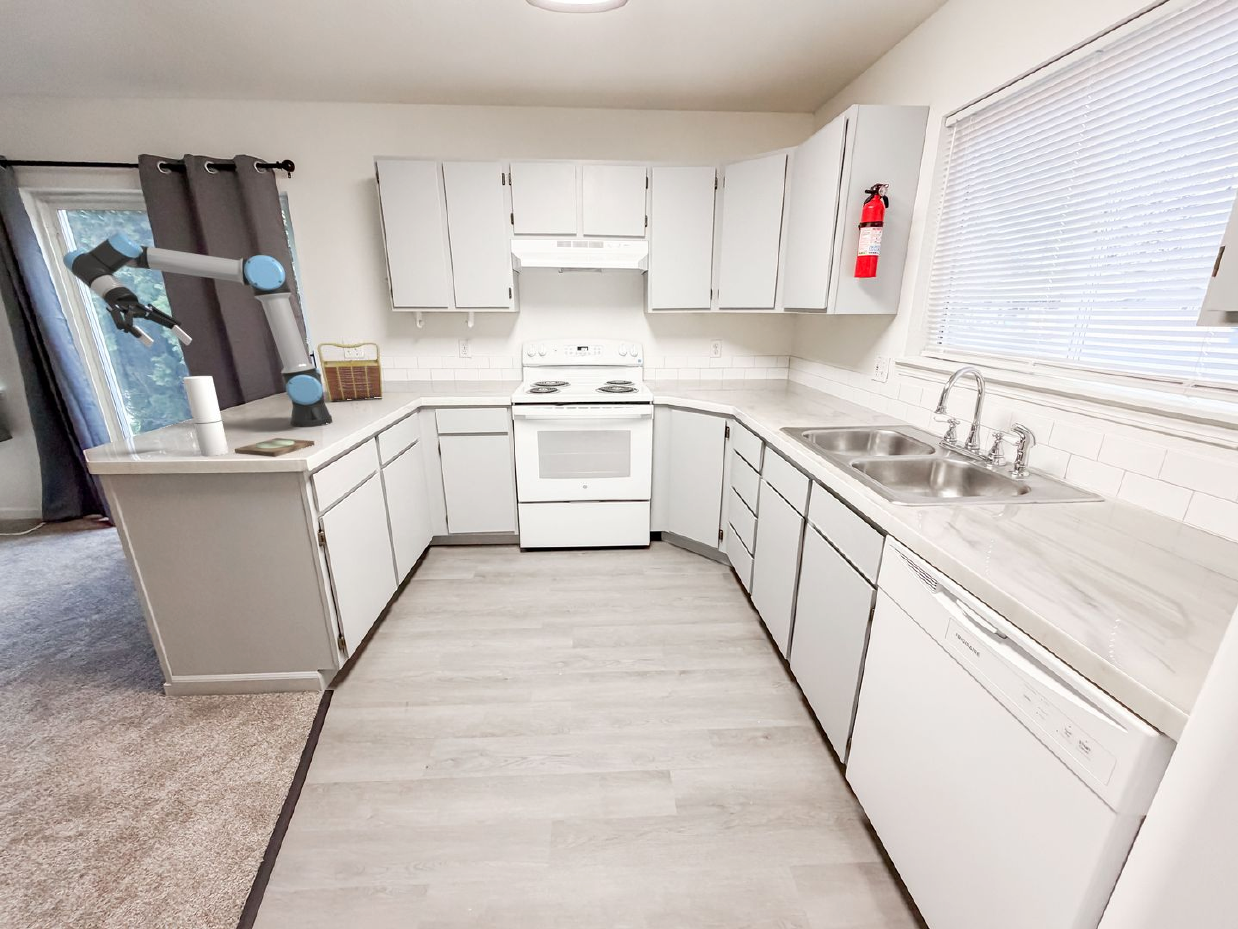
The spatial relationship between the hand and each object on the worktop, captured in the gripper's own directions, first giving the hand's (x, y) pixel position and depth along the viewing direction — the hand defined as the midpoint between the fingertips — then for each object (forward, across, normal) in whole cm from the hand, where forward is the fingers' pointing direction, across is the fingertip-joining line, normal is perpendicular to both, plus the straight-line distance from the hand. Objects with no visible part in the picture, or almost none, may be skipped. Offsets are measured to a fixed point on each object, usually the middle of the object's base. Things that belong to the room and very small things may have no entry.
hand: (171, 343), depth 164 cm
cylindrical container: (+35, +8, -14) cm, 39 cm away
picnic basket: (+22, -105, -27) cm, 110 cm away
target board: (+46, +1, -3) cm, 46 cm away
